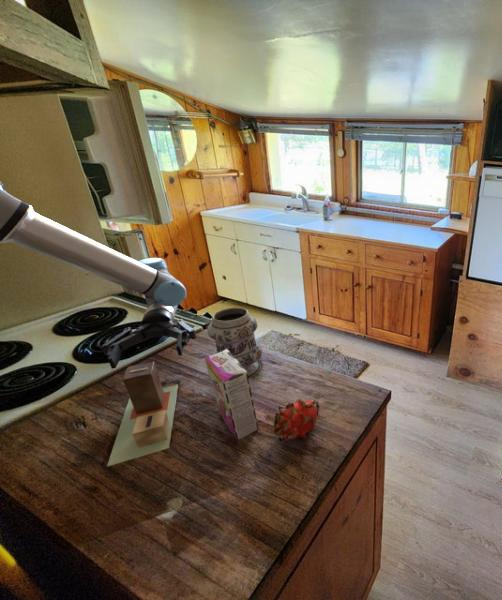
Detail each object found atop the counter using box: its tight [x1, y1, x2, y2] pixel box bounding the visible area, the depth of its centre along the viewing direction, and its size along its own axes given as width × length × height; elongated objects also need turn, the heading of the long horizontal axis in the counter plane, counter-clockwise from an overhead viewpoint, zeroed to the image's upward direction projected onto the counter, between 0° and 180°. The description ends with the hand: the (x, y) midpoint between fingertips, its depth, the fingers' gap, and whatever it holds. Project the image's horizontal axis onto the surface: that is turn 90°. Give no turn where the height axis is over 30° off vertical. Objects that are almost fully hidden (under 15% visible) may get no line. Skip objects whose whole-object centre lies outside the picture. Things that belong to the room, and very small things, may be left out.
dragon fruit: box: [272, 398, 320, 442], centre depth 71 cm, size 8×8×12 cm
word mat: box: [106, 383, 179, 468], centre depth 73 cm, size 10×22×1 cm, turn 27°
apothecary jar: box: [207, 306, 263, 379], centre depth 87 cm, size 12×12×18 cm
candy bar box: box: [204, 349, 259, 441], centre depth 70 cm, size 11×5×16 cm, turn 45°
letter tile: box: [132, 410, 170, 448], centre depth 68 cm, size 5×5×4 cm
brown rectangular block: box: [122, 361, 165, 414], centre depth 75 cm, size 5×5×10 cm
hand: (146, 357), depth 80 cm, fingers open, 13 cm apart
